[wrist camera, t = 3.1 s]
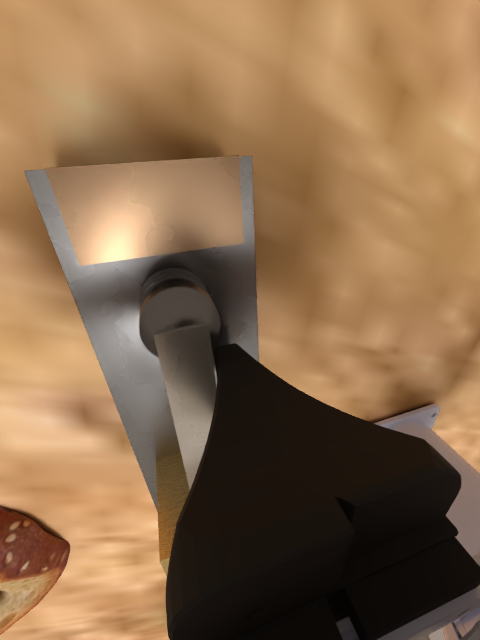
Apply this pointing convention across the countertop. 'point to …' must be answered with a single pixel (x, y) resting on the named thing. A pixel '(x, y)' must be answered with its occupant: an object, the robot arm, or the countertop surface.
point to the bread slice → (26, 565)
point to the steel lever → (183, 353)
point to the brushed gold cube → (169, 501)
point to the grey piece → (151, 267)
